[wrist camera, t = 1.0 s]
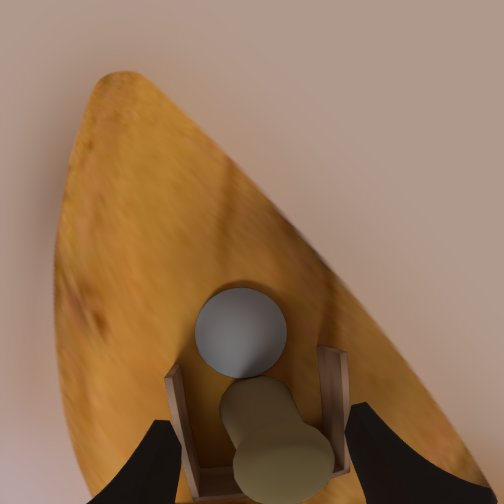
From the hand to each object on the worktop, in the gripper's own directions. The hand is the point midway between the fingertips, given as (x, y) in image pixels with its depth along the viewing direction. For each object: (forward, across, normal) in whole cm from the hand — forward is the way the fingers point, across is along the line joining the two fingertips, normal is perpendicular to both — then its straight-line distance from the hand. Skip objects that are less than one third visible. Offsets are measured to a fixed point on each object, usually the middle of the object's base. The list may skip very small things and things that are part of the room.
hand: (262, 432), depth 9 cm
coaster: (+12, +1, +3) cm, 12 cm away
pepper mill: (+9, 0, +9) cm, 12 cm away
